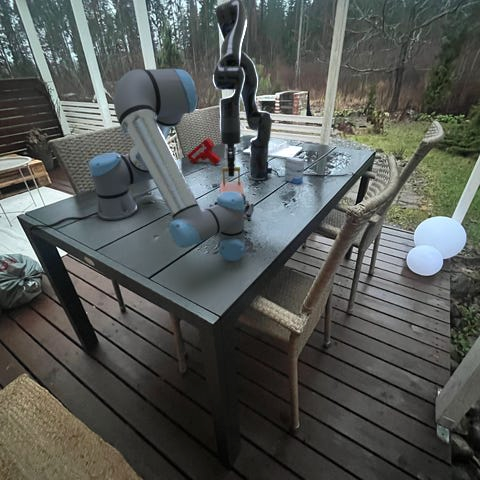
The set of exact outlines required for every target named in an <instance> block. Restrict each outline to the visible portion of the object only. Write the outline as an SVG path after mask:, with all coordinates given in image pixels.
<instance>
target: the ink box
mask: <svg viewBox="0 0 480 480" xmlns="http://www.w3.org/2000/svg"><path fill="white" fill-rule="evenodd" d="M305 162H306V159H304V158H299V157H296V156H294V157H289V158H287V159H286V158H285V169H284V176H285V177H284V181H285V182H289V183H293V184H295V185H298V184H300V183H302V182H303V180H304V175H303V174H304V173H305V171H304V170H305Z"/></svg>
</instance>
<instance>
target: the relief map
mask: <svg viewBox="0 0 480 480" xmlns="http://www.w3.org/2000/svg"><path fill="white" fill-rule="evenodd" d="M302 147H303V146H294V145H292V144H290V143H289V142H288V141H284V142H282V143H280V144H279V143H278V142H276V141H273V140H272V139H271V138H270V141H269V145H268V157H271V158H277V159H285V160H286V159H287V158H289V157H296V156H297V155H298V154H299V153H300V152H302V151H303V150H304V148H303V149H302ZM250 148H251V145H250V146H249V147H248V148H247V149H245V150H242V153H243V154H247V155H248V154H249V155H250ZM296 153H297V154H296Z"/></svg>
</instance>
